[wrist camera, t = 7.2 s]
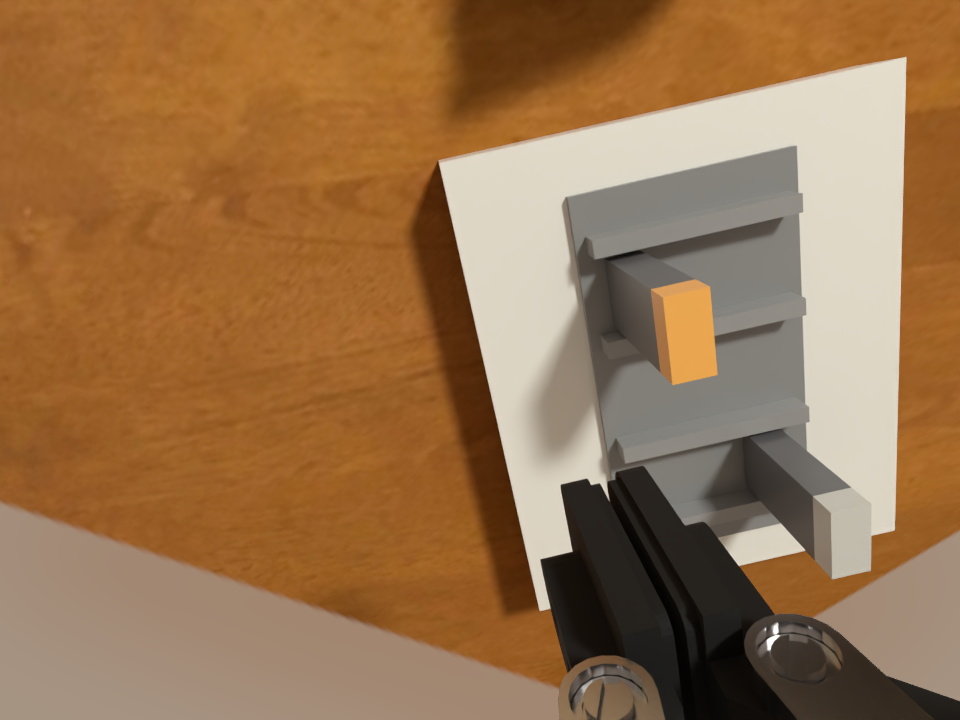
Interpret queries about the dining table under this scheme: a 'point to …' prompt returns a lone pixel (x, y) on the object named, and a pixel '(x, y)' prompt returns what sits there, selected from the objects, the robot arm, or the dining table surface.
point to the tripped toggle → (663, 315)
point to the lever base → (735, 307)
